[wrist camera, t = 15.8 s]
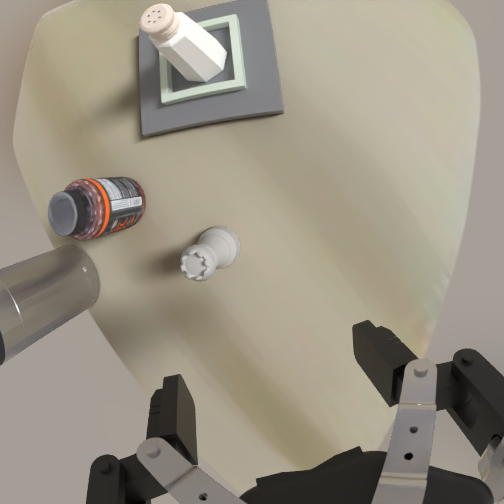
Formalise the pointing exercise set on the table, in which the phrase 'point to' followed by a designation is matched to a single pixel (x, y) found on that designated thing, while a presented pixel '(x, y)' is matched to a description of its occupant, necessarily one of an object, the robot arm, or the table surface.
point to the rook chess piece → (210, 253)
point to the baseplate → (224, 83)
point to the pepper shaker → (183, 43)
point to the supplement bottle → (96, 207)
